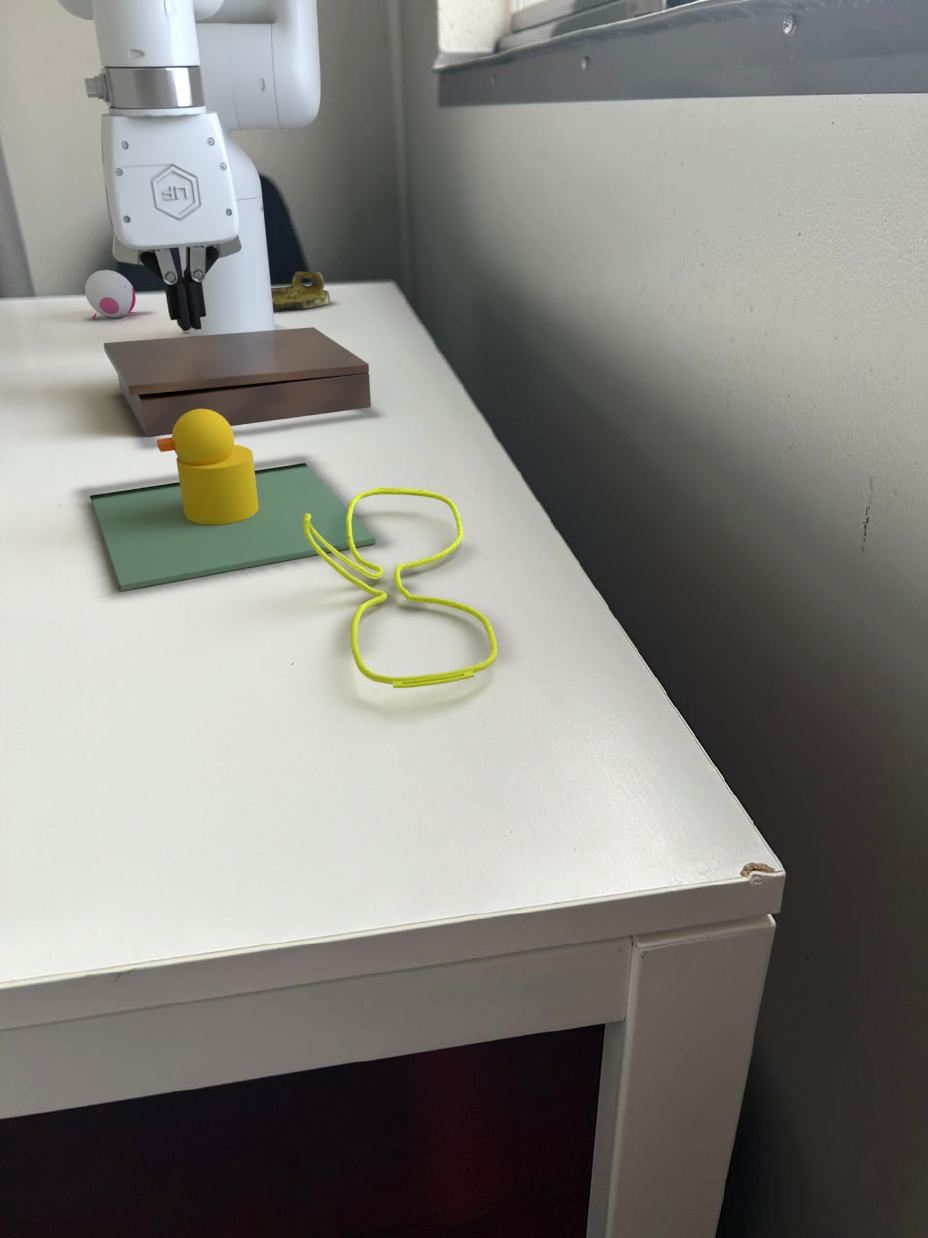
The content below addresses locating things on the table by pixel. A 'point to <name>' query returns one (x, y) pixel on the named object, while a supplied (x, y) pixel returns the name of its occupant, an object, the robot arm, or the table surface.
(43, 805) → the table surface
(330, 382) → the chest
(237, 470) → the duck
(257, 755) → the table surface
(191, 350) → the lid
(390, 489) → the glasses
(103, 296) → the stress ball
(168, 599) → the table surface
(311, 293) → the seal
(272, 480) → the mat
